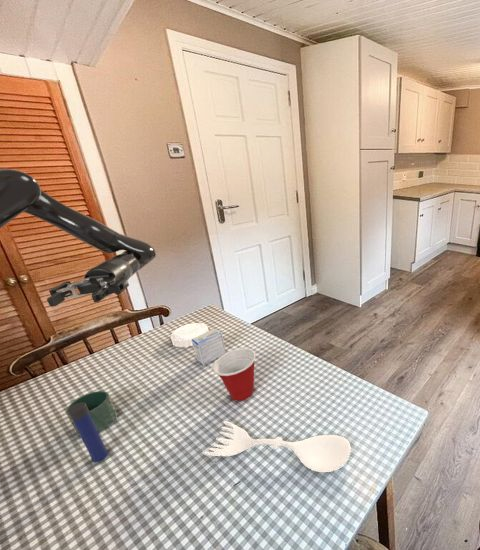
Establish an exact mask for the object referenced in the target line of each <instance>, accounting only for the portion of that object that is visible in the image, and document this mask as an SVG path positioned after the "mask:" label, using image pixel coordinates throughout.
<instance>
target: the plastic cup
mask: <svg viewBox="0 0 480 550" xmlns="http://www.w3.org/2000/svg"><path fill="white" fill-rule="evenodd" d="M256 356H257V354H256V352H255V351H254V350H253V349H251V348H249V347H240V348H235V349H231V350H230V351H226V353H225V354H224V355H222V356H220V357H218V358H216V359H215V360H214V363H213V365H212V369H213V372H214V374H216V375H218V376H219V379H221V381H222V383H223V385H224V386H225V389H226V390H227V392H228V394H229V396H230V399H232V400H234V401H236V402H241V401H245V400H247V399H249V398H250V397H252V395H253V393H254V387H255V366H256V365H255V360H256Z"/></svg>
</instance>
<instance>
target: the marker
mask: <svg viewBox="0 0 480 550" xmlns="http://www.w3.org/2000/svg"><path fill="white" fill-rule="evenodd" d="M68 414H69V416H70V418H71V419H72V420H73V422H74V424H75V426H76V428H77V430H78V432H79V434H80V438H81V440H82V442H83V444H84V446H85V448H86V451H87V452H88V454H89V456H90V458H91V460H92V462H93V463H99V462H101V461H103V460H105V459H106V458H107V457H108V455H109V452H108V450H107V448H106V446H105V443H104V442H103V439H102V437H101V435H100V432H98V431H97V428H96V426H95V424H94V422H93V420H92V418H91V416H90V413H89V410H88V408H87V405H86V403H84V402H81V403H77V404H75V405H73V406H71V407H70V408H69V409H68Z"/></svg>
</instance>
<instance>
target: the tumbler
mask: <svg viewBox="0 0 480 550" xmlns="http://www.w3.org/2000/svg"><path fill="white" fill-rule="evenodd" d="M81 402H84V403H86V405H87V408H88V410H89V413H90V416H91V418H92V420H93V422H94V424H95V426H96V428H97V431H98V433H100V432H101V431H102V432H103V431H104V430H105V429H107V428H108V427H109V426H110V425H112V424H114V422H115V420H116V419H117V415H118V412H117V410H116V407H115V405H114V403H113V400H112V398H111V396H110V393H109V392H107V391H105V390H97V391H91V392H89V393H86V394H84V395H82V396H80V397H78V398H76V399H75V400H74V401H72V402H71V403H70V404H68V406H67V407H66V409H65V415H66V417H67V418H68V420H69V422H70V424H71V426H72V428H73V430H74V432H75V434H76V435H77V436H80V434H79V432H78V430H77V428H76V426H75V424H74V422H73V420H72V419H71V418H70V416H69V414H68V409H69V408H70V407H71V406H73V405H75V404H77V403H81ZM80 437H81V436H80Z"/></svg>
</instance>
